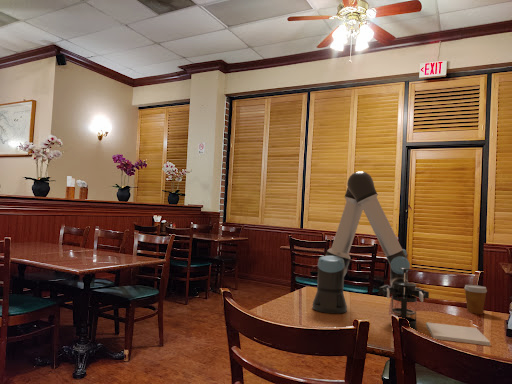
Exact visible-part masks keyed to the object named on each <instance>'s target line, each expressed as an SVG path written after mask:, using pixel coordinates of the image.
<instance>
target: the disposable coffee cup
mask: <svg viewBox="0 0 512 384" xmlns="http://www.w3.org/2000/svg"><path fill="white" fill-rule="evenodd" d="M463 289H464V293H465V300H466V309H467V312H468V313H471V314H477V315H482V314H484V307H485V302H486V296H487V292H488V289H487V287H486V286H482V285H475V284H465V286H464V288H463Z"/></svg>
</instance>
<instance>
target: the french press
mask: <svg viewBox="0 0 512 384" xmlns="http://www.w3.org/2000/svg"><path fill="white" fill-rule="evenodd" d="M399 269H403V272H404V282H392V284H394V286H393V288H394V289H397V288H399V287H404V294H391V311H392V313H395V314H399V315H397V316H398V317H402V318H405V319H407V320H408V321H409V324H410V327H411V328H413V329H415V331H416V330H417V313H416V310H412V309H409V308H408V303H415V304H417V301H418V300H417V298H418V297H416V296H413V295H407V294H405V288H409V289H410V290H412V291H415V290H416V288H417V286H418V285H417V284H416V283H413V282H409V281H408V282H405V273H406V270H408V271H411V268H399ZM393 301H396V302H397V301H398V302H400V307H394V308H393V306H394V305H393V303H394V302H393ZM414 315H415V317H414V318H413V317H410V316H414Z"/></svg>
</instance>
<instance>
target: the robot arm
mask: <svg viewBox="0 0 512 384" xmlns="http://www.w3.org/2000/svg"><path fill="white" fill-rule="evenodd" d="M375 187H376V186H375V183H374V180H373V178H372V176H371V175H370V174H369V173H367V172H366V171H355V172H354V173H352V174H351V175H350V176H349V177H348V179H347V187H346V191H345V194H344V199H345V201H346V202H345V205H344V207H343V208H344V209H343V211H342V214H341V217H340V219H339V224H338V227H337V230H336V233H335V235H334V239H333V242H332V245H331V247H330V248H328V249H327V250H326V254H325V256H324V255H323V256H319V258H318V260H317V261H318V262H317V282H316V283H317V285H316V286H317V288H316V293H315V296H314V299H313V301H312V310H314V311H316V312H319V313H325V314H335V315H336V314H344V313H346V312H347V311H348V306H347V301H346V298H345V295H344V285H345V283H344V282H345V276H346V275H347V273H348V267H349V264H350V262H351V256H350V251H351V248H352V244H353V243H354V238H355V236H356V233H357V230H358V227H359V223H360V220H361V217H362V214H363V212H364V214H365V216H366V218H367V220H368V222H369V224H370V227H371V228H372V231H373V232H374V234H375V237H376V238H377V240H378V243H379V245H380V247H381V250H382V252H384V255H385V257H386V259H387V262H388V264H389V269H390V271H389V278H390V279H389V285H388V284H384V285H382V286H378V294H380V295H383V297H386V298H387V299H390V295H392V294H404V287H399V288H397V289H394V288H393V286H394V284H392V282H404V272H403V269H399V268H409V269H411V263H410V261H409V260H408V252H407V250H406V249H404V248H403V247H402V246H401V244H400V242H399V240H398V237H397V235H396V234H395V232H394V230H393V227H392V226H391V224H390V221H389V220H388V218H387V215H386V214H385V212H384V209H383V208H382V205H381V203H380V202H379V200H378V199H379V198H378V195H379V194H378V193H377V190H376V188H375ZM408 271H409V270H406V273H405V282H409V280H408V274H409V273H408ZM405 294H407V295H412V296H415V297H416V298H418V299H419V301H420V302H421V303H424V299H429V298H430V296H429V295H430V293H429V291H427V290H425V289H421V288H420V287H417V286H416V290H415V291H412V290H410V289H409V288H405Z"/></svg>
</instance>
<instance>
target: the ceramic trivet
mask: <svg viewBox="0 0 512 384" xmlns="http://www.w3.org/2000/svg"><path fill="white" fill-rule="evenodd" d="M425 326H426V328H427V330H428V332H429V334H430V335H431V338H432V339H433V338H435V340H440V341H449V342H458V343H465V344H473V345H474V344H475V345H480V346H490V347H491V342H490V340H489V339H488V338H487V337H486V336H485V335H484V334H483V333H482V332H481V331H480V330H479V329H478V328H477V327H470V326H461V325H453V324H447V323H446V324H445V323H435V322H428V321H427V322H425Z"/></svg>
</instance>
